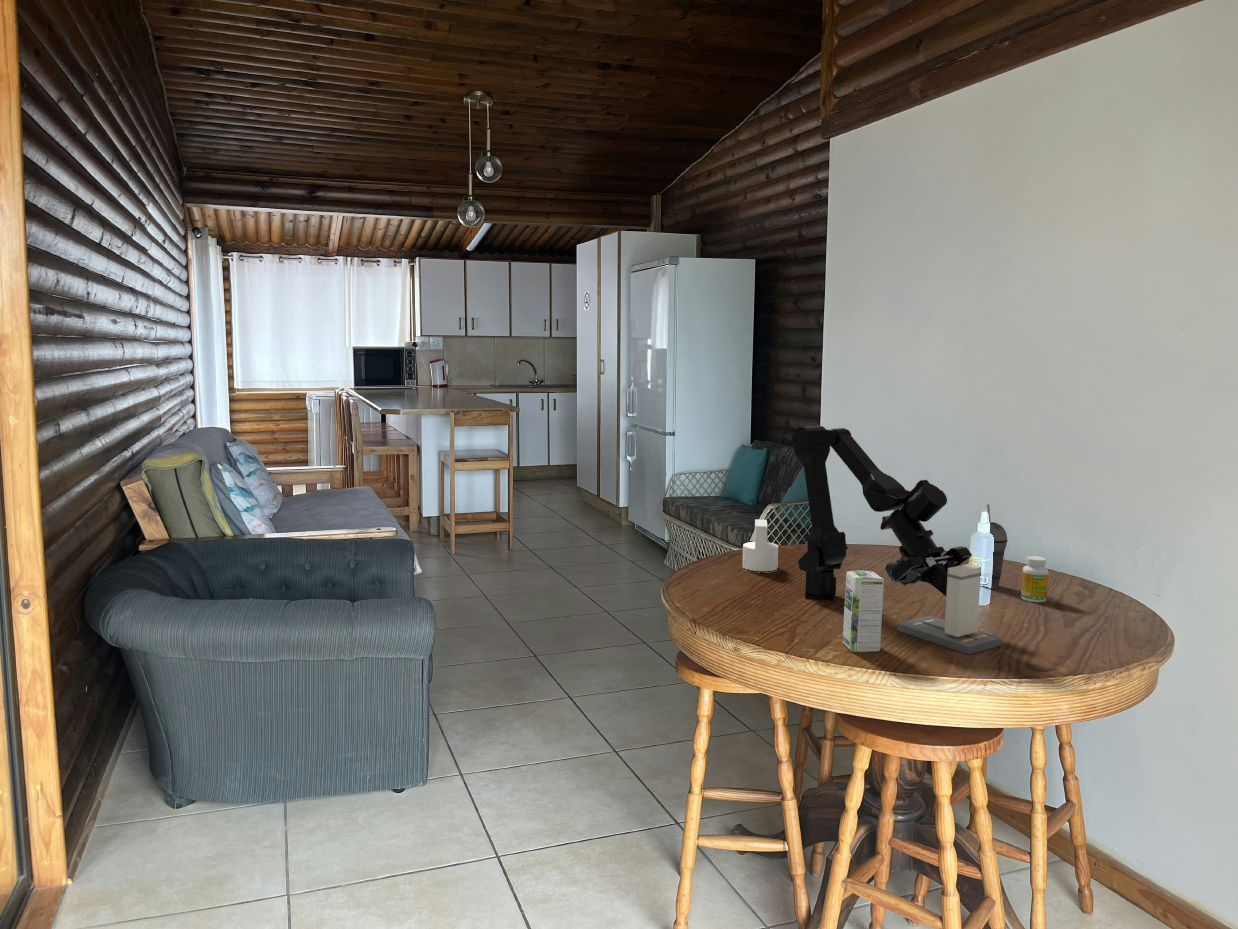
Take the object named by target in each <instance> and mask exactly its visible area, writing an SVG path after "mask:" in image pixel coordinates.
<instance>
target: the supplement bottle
mask: <svg viewBox="0 0 1238 929" xmlns="http://www.w3.org/2000/svg"><path fill="white" fill-rule="evenodd" d="M1025 563H1026V564H1027V565H1025V566H1023V567H1022V571H1021V572H1022V574H1021V588H1020V589H1021V590H1020V598H1021V599H1022V600H1024V601H1026V602H1030V603H1045V602H1046V601H1047V598H1048V597H1047V596H1048V583H1049V570H1048V568H1047V567H1045V566H1046V564H1047V559H1046V558H1045V557H1043V556H1036V555H1035V556H1033V555H1031V556H1030V555H1028V556H1026V562H1025Z"/></svg>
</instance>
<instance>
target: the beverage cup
mask: <svg viewBox="0 0 1238 929" xmlns="http://www.w3.org/2000/svg"><path fill="white" fill-rule="evenodd" d="M986 506H987V515H988V514H989V522H990V533H991V534H992V535H993V537H994V552H993V575H992V587H993V588H992V589H997V588H999V585H1000V581H1001V577H1002V568H1003V563H1004V557H1005V550H1006V548H1007V543H1008V542H1009V541H1008V536H1007V535H1008V534H1007V532H1006V530H1005V528H1004V527H1003V526H1002V525H1001V524H999V523H998V522H992V521H991V512H990V510H991V509H990V504H989V503H986Z"/></svg>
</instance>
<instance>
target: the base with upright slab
mask: <svg viewBox="0 0 1238 929" xmlns="http://www.w3.org/2000/svg"><path fill="white" fill-rule="evenodd" d="M778 566H779V545H778V544H776V543H772V542H768V521H767V519H757V518H756V519H754V541H750V542H748V541H747V542H745V543H743V545H742V569H743V568H745V569H749V570H753V571H773V570H776V569H777V568H778ZM777 570H778V569H777ZM777 570H776V571H777ZM773 572H774V571H773Z"/></svg>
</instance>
